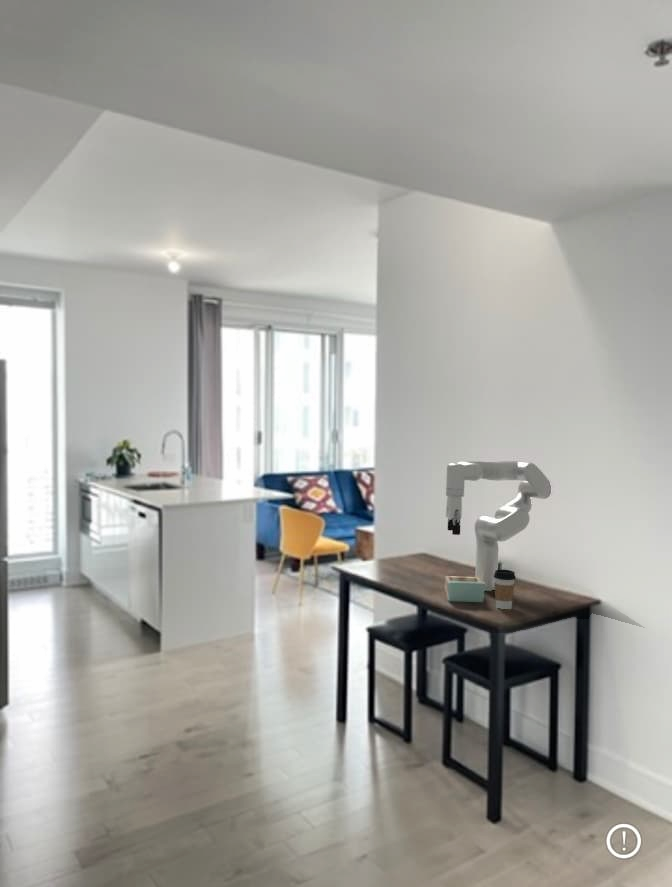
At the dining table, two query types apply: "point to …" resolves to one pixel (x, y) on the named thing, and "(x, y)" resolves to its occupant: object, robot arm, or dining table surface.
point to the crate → (453, 578)
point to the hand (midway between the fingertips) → (453, 532)
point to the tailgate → (466, 591)
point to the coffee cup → (504, 588)
